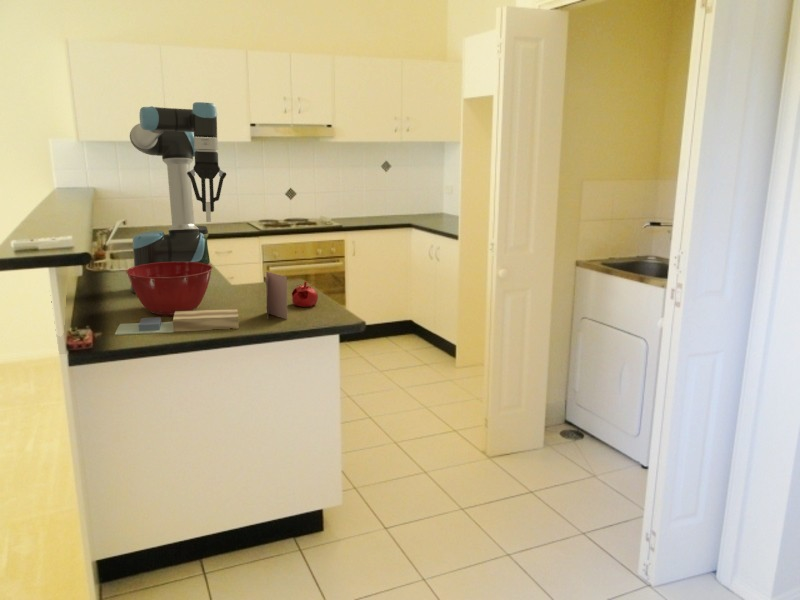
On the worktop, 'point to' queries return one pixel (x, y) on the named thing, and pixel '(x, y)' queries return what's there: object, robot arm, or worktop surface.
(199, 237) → the robot arm
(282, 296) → the greeting card
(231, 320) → the tan block
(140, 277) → the mixing bowl
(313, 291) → the pomegranate
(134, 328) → the rubber mat
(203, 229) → the coffee jar
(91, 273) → the worktop surface
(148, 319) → the blue-grey flat block
